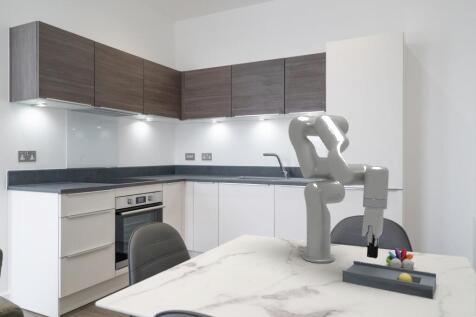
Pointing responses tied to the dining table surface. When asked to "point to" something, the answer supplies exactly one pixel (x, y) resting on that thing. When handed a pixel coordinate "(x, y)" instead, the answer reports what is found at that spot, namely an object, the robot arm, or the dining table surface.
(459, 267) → the dining table surface
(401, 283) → the tray
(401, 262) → the rainbow white-lobed toy
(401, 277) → the ball
